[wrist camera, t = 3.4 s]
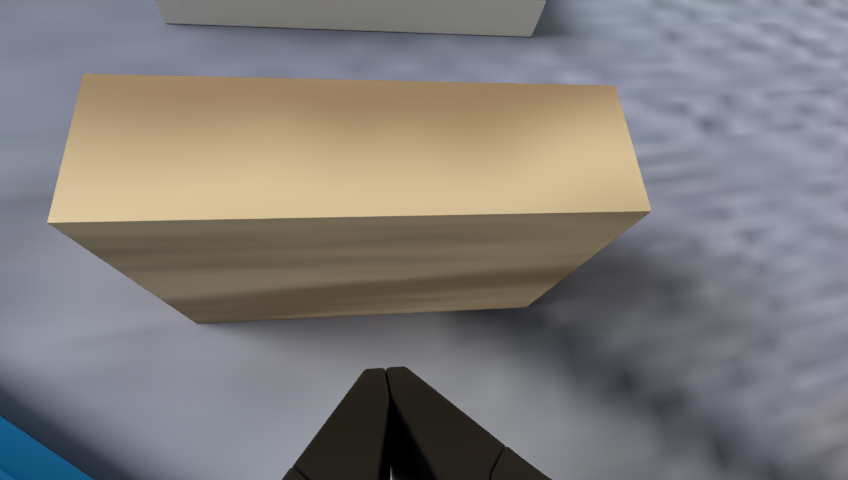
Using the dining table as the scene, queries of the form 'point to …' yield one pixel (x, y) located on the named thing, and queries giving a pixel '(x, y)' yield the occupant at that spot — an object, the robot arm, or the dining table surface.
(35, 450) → the book
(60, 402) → the dining table surface
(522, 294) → the oak plank
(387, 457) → the robot arm
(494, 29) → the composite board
